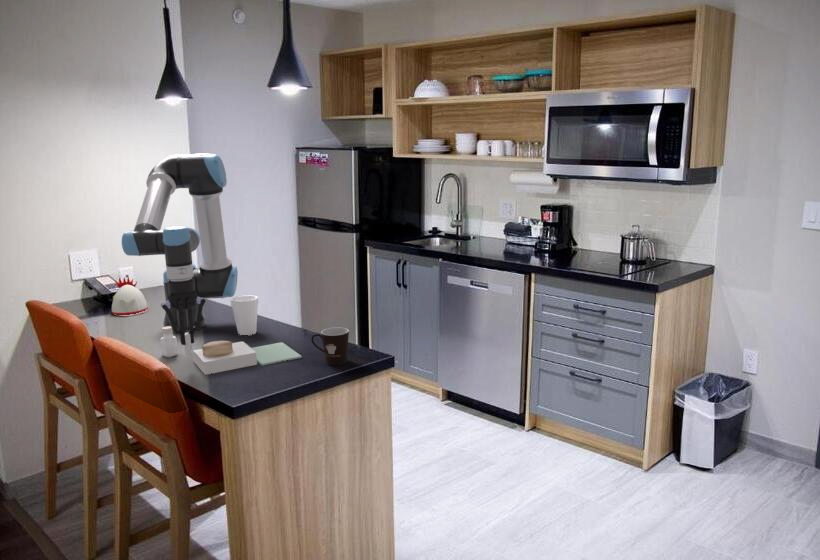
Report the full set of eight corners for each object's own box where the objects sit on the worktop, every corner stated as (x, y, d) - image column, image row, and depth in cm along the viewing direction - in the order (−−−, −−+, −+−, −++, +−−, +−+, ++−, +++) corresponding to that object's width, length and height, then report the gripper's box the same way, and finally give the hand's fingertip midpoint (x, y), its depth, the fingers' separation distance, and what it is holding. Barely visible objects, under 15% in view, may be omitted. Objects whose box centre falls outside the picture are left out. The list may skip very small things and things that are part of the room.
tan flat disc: (200, 351, 214) (199, 344, 213) (228, 346, 218) (227, 338, 217) (206, 359, 206) (205, 351, 205) (235, 353, 210) (235, 346, 209)
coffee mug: (356, 361, 212) (354, 330, 210) (335, 368, 206) (333, 337, 203) (331, 354, 219) (329, 324, 217) (310, 361, 213) (308, 330, 211)
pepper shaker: (172, 352, 226) (169, 325, 224) (179, 354, 224) (175, 327, 222) (161, 355, 223) (158, 328, 221) (168, 358, 221) (164, 330, 219)
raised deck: (194, 362, 216) (193, 350, 215) (243, 352, 223) (242, 341, 223) (205, 374, 204) (204, 362, 203) (257, 364, 212) (256, 352, 211)
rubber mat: (244, 350, 226) (244, 349, 225) (282, 343, 232) (282, 342, 232) (262, 365, 210) (262, 363, 210) (301, 357, 217) (301, 355, 217)
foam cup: (231, 332, 248) (228, 297, 245) (256, 328, 252) (253, 294, 249) (237, 338, 240) (234, 302, 237) (263, 334, 244) (260, 299, 241)
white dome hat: (114, 310, 286) (109, 275, 283) (149, 306, 290) (145, 272, 287) (110, 318, 273) (105, 281, 270) (147, 314, 277) (142, 278, 274)
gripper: (160, 283, 196) (169, 361, 201) (206, 277, 202) (213, 353, 207) (155, 279, 202) (164, 354, 207) (200, 273, 209) (207, 347, 214)
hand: (188, 354), depth 207 cm, fingers closed
